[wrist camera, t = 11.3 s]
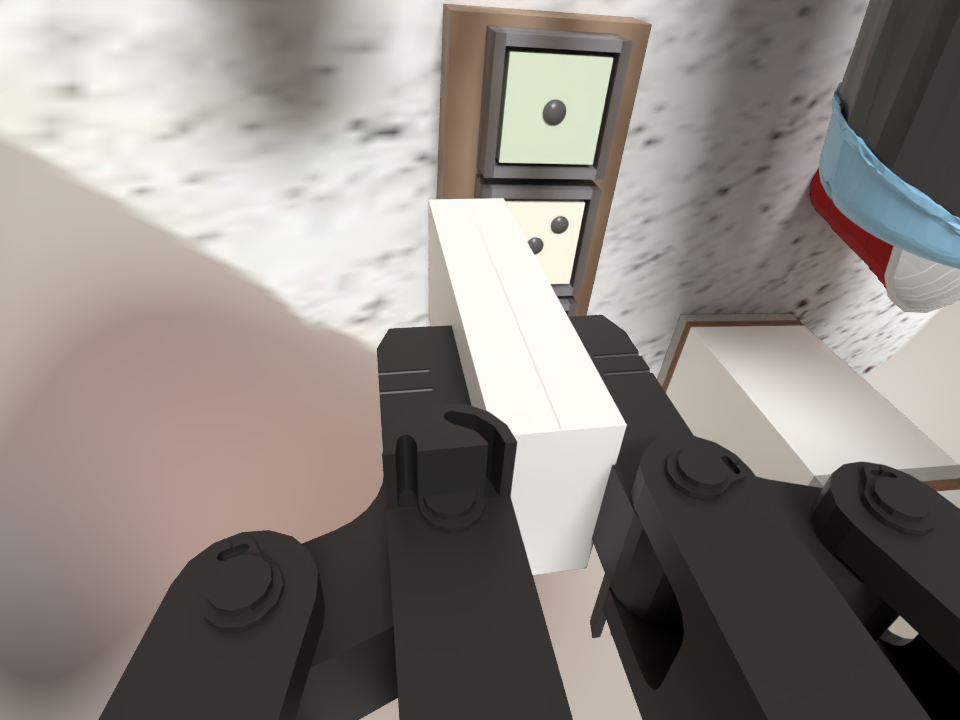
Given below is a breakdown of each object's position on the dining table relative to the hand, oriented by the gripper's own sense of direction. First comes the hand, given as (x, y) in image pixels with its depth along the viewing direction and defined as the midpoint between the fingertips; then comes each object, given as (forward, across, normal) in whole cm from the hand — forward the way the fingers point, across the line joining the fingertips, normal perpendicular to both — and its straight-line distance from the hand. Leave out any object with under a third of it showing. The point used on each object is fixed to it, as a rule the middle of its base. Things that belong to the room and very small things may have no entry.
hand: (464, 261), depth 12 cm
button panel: (+29, +9, -11) cm, 32 cm away
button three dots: (+26, +9, -11) cm, 29 cm away
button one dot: (+26, +9, -3) cm, 27 cm away
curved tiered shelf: (+29, +30, -27) cm, 50 cm away
